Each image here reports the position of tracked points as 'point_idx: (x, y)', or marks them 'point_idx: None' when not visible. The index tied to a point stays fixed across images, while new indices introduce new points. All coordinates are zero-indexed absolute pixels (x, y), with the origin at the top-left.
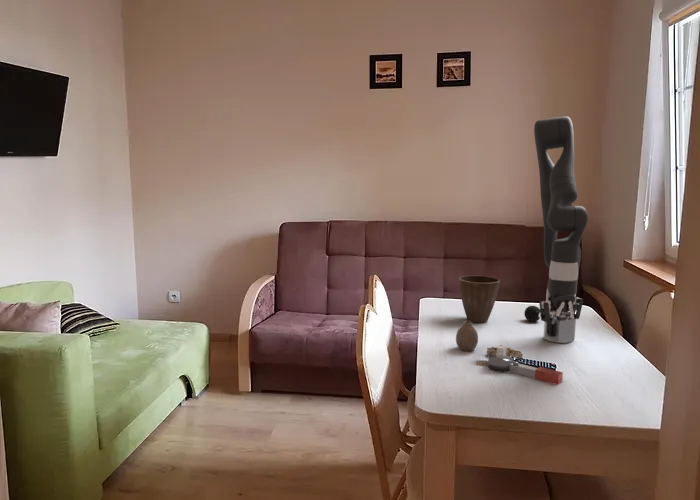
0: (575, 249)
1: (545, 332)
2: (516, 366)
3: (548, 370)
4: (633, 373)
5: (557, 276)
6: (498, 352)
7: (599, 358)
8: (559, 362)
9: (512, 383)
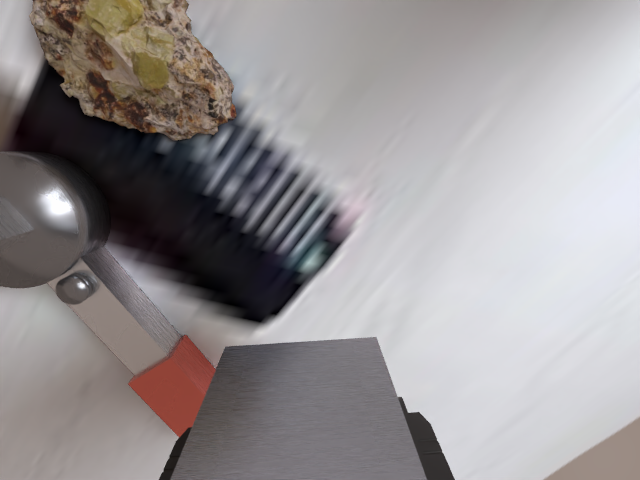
0: None
1: (217, 368)
2: (72, 307)
3: (184, 401)
4: (566, 390)
5: None
6: None
7: (607, 218)
8: (386, 217)
9: (28, 376)
